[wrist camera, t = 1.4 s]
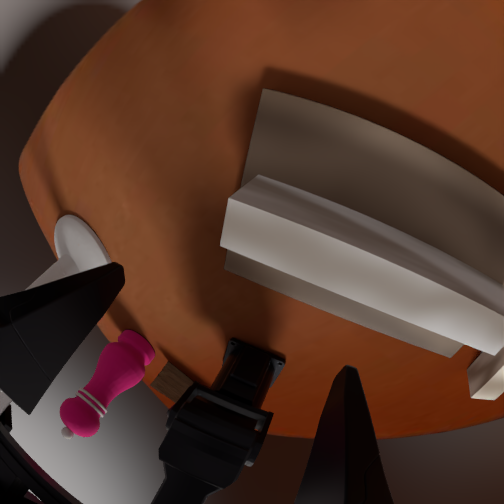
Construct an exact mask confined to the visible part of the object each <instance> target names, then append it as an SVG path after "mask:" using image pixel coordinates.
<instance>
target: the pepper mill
mask: <svg viewBox="0 0 504 504" xmlns="http://www.w3.org/2000/svg"><path fill="white" fill-rule="evenodd" d="M154 357H155V352H154V350H153V348H152V346H151V345H150V344H149V343H148V341H147V340H146V339H144V338H143V337H142V336H141V335H139V334H138V333H136V332H134V331H132V330H125V331H123V332H122V334H121V335H120V336H119V337H118V342H113V343H109V344H107V345H106V347H105V348H104V349H103V351H102V353H101V355H100V357H99V361H98V364H97V368H96V370H95V373H94V375H93V377H92V379H91V380H90V382H89V383H88V384H87V385H86V386H85V387H84V388H79V391H78V392H76V396H77V397H75V398H68V399H66V400H65V401H64V402H63V403H62V405H61V407H60V417H61V419H62V421H63V423H64V424H65V425H66V427H64V428H63V429H62V435H63V437H65V438H66V439H71V438H72V437H73V433H75V434H77V435H79V436H82V437H90V436H92V435H94V434H95V433H96V432H97V430H98V429H99V427H100V422H99V418H100V417H104V414H105V413H107V409H106V407H107V406H108V405H109V403H110V402H111V401H112V400H113V399H114V398H115V397H116V396H117V395H118V394H120V393H121V392H123V391H125V390H127V389H129V388H131V387H133V386H134V385H136V384H137V383H138V382H139V381H140V380H141V379H142V378H143V377H144V374H145V367H144V365H148V364H149V363H150V362H151V361H152V360H153V358H154Z"/></svg>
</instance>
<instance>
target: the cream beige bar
mask: <svg viewBox="0 0 504 504" xmlns="http://www.w3.org/2000/svg"><path fill="white" fill-rule="evenodd" d="M467 374H468V380H469V388H470V396H471V398H477V399H488V400H495V399H496V398H497V397H498V396H500V395H501V394H502V393H503V392H504V346H503V348H502V349H501V350H500V351H499V352H498V353H497V354H496V355H495V356H494V355H491V354H489V353H486V352H482V353H481V354H480V355H479V357H478V358H477V359H476V360H475V361H474V362H473V363H472V364H471V366H470V367H469V368H468V369H467Z"/></svg>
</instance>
